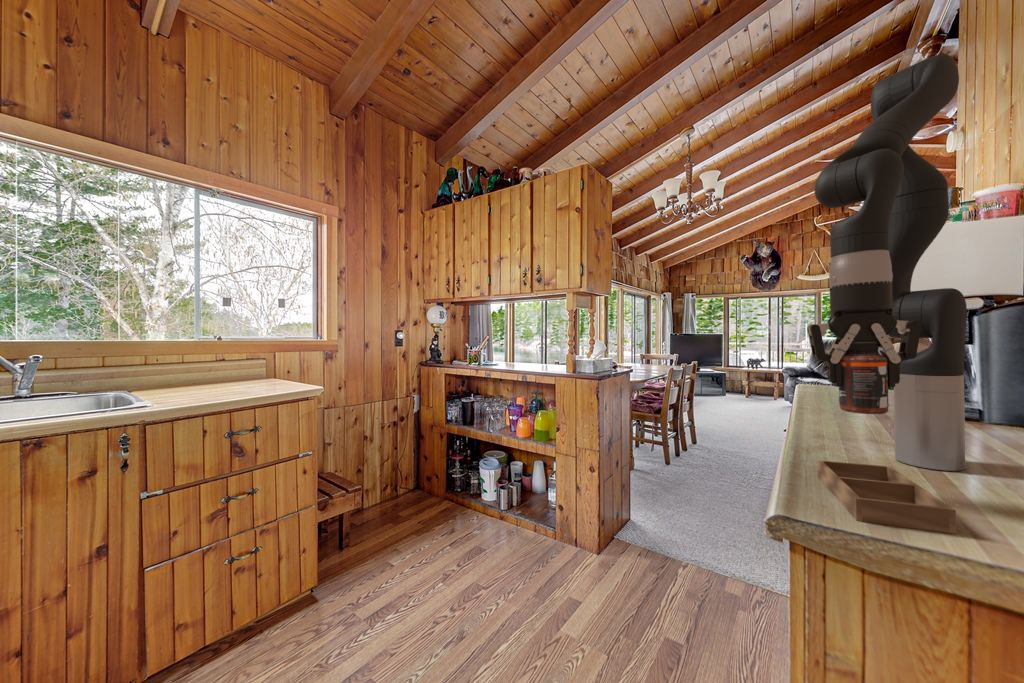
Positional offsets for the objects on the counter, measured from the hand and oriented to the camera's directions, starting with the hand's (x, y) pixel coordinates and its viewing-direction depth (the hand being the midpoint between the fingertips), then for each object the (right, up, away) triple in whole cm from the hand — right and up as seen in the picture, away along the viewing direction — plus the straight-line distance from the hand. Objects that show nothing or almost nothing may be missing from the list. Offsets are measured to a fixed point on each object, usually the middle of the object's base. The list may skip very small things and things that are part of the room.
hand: (862, 386), depth 63 cm
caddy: (-1, -17, -4) cm, 17 cm away
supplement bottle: (0, -4, 0) cm, 4 cm away
